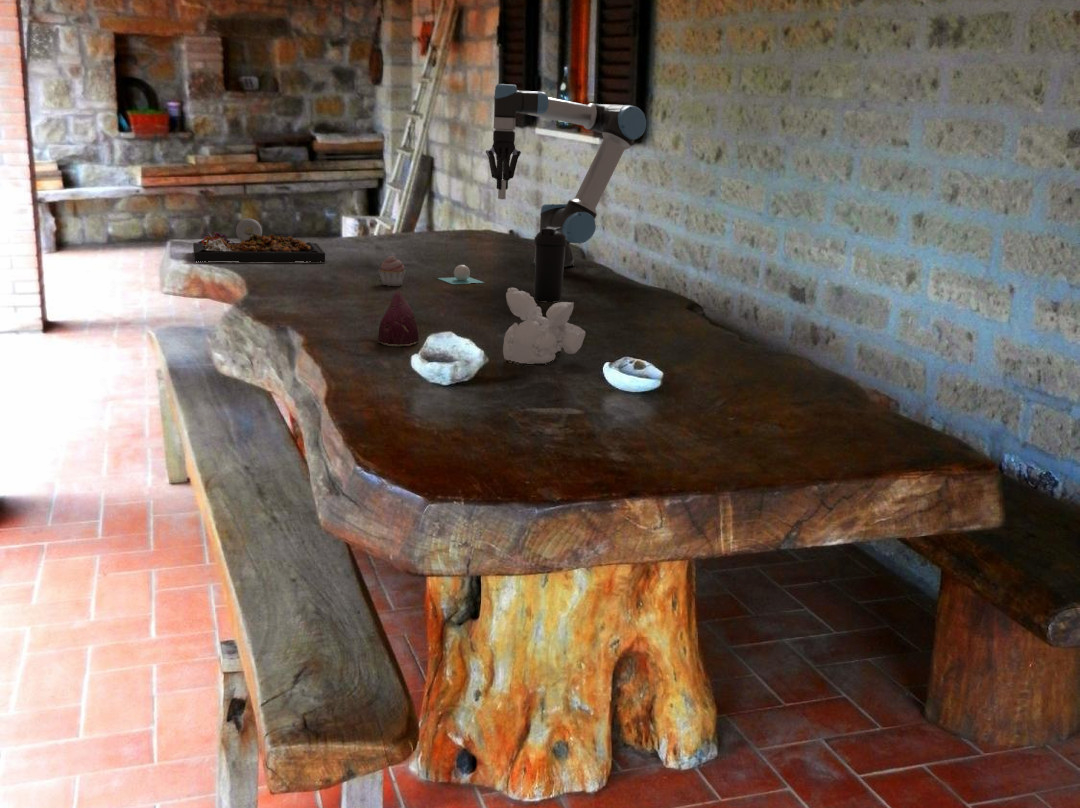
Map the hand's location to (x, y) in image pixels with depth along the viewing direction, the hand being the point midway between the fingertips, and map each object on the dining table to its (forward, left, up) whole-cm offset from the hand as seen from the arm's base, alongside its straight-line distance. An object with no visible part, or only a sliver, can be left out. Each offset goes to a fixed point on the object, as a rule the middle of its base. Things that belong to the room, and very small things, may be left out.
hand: (501, 198), depth 404 cm
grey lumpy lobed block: (+52, +121, -27) cm, 134 cm away
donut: (+65, -87, -27) cm, 112 cm away
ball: (+21, +12, -24) cm, 34 cm away
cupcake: (+47, +14, -27) cm, 56 cm away
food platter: (+72, -51, -27) cm, 93 cm away
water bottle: (+10, +52, -27) cm, 59 cm away
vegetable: (+79, +94, -27) cm, 126 cm away
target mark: (+21, +12, -26) cm, 36 cm away
